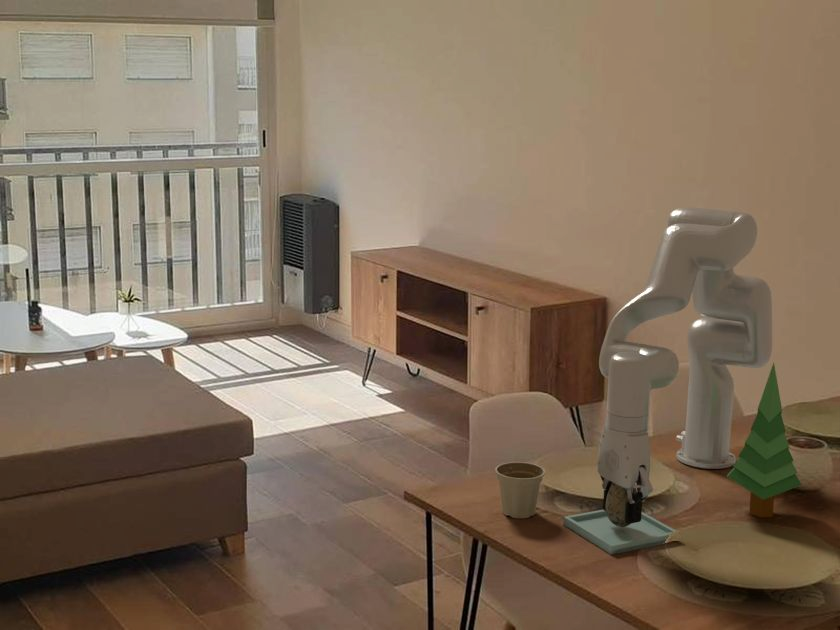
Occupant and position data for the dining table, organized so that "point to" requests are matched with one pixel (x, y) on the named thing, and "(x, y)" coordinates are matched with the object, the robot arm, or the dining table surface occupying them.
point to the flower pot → (519, 488)
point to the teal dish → (618, 531)
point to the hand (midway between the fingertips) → (621, 515)
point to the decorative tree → (766, 455)
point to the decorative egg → (617, 504)
